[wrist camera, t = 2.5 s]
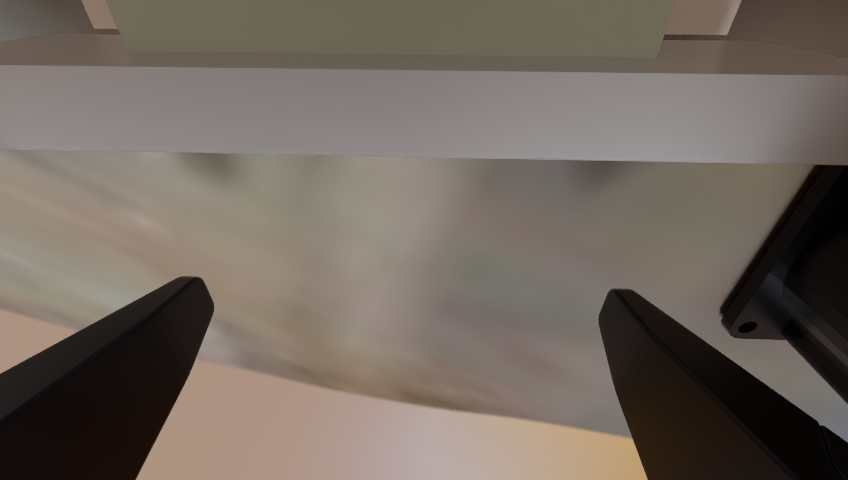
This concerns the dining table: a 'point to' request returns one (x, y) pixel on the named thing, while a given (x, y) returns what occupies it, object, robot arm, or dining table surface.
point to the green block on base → (421, 84)
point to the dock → (692, 15)
